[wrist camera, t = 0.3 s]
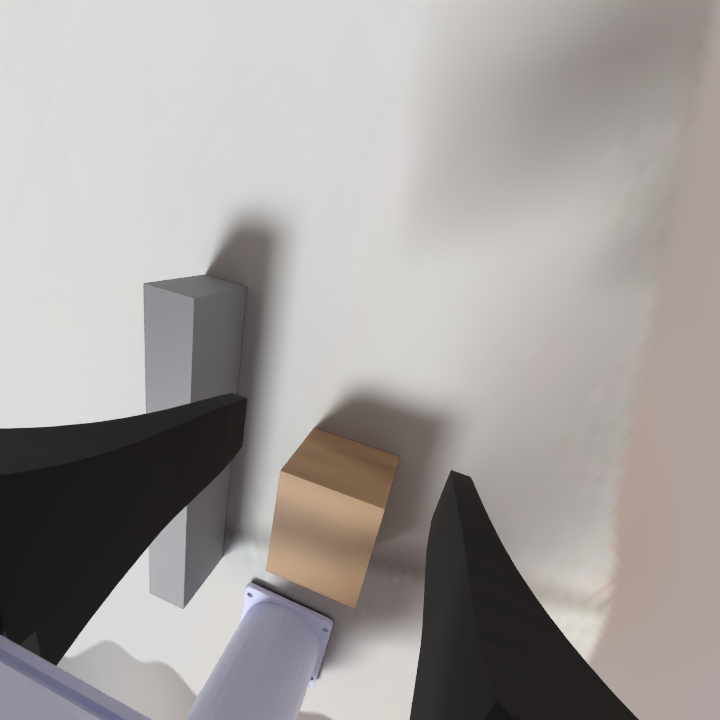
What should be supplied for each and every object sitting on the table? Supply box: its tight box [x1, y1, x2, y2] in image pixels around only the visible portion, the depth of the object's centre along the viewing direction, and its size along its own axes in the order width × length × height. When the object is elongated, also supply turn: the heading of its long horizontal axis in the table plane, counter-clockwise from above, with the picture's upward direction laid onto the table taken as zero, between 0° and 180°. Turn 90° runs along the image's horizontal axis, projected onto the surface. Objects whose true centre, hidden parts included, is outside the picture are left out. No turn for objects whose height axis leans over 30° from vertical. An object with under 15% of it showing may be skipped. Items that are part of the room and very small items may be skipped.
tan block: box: [266, 428, 400, 609], centre depth 23 cm, size 8×6×5 cm
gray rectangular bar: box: [144, 275, 247, 609], centre depth 25 cm, size 24×3×5 cm, turn 167°
